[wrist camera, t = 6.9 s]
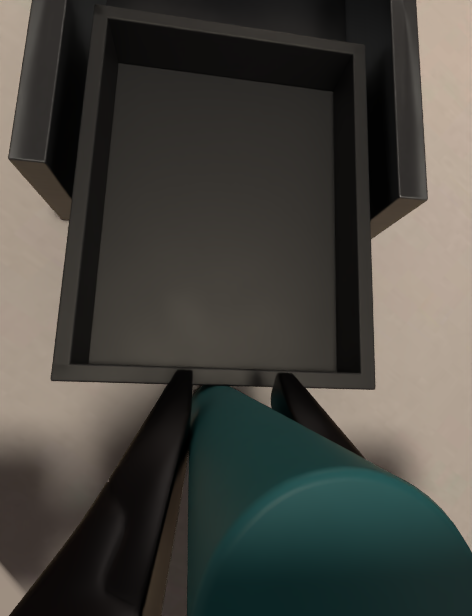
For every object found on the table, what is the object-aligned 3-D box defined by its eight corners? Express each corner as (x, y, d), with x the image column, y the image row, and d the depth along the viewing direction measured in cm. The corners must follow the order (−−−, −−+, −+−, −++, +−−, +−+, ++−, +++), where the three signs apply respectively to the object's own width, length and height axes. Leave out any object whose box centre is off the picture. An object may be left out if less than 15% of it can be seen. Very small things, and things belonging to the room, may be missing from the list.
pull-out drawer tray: (365, 244, 18) (428, 200, 13) (61, 220, 17) (7, 158, 12) (357, -28, 21) (408, -147, 16) (96, -75, 19) (65, -224, 14)
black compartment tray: (344, 436, 16) (1028, 751, 3) (70, 433, 14) (-959, 1028, 1) (339, 91, 18) (674, -519, 6) (109, 61, 17) (-130, -843, 4)
